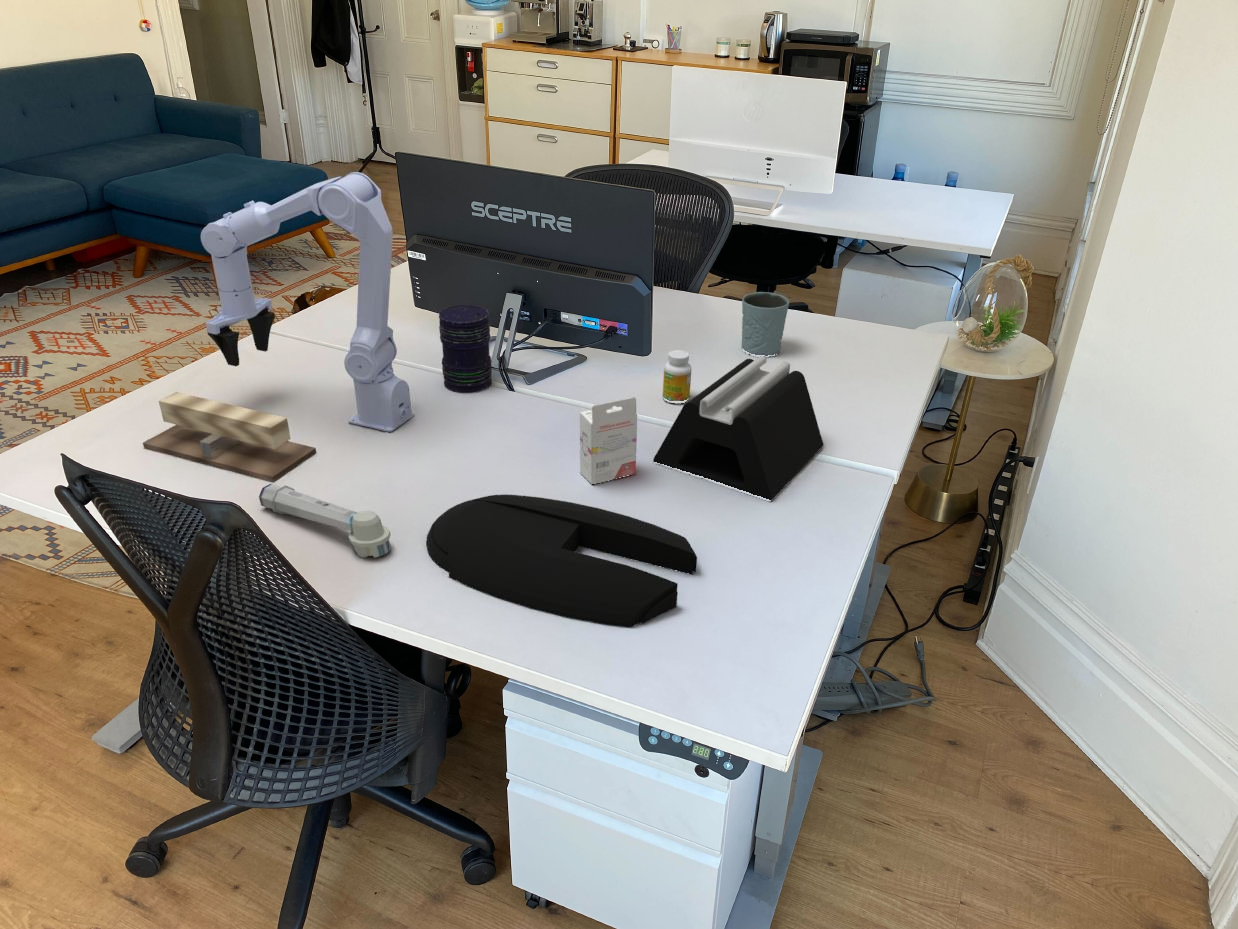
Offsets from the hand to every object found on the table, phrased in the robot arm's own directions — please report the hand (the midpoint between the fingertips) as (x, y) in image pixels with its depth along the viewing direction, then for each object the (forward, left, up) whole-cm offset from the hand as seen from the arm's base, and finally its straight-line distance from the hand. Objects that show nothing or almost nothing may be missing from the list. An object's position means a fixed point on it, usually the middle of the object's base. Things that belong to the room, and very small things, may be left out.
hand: (248, 357), depth 171 cm
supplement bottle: (-72, -37, -10) cm, 82 cm away
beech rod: (-8, +16, -6) cm, 19 cm away
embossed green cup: (-81, -69, -10) cm, 107 cm away
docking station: (-73, +21, -11) cm, 77 cm away
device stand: (-90, -20, -10) cm, 93 cm away
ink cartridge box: (-71, -4, -10) cm, 72 cm away
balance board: (-8, +16, -10) cm, 20 cm away
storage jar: (-31, -26, -10) cm, 42 cm away
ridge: (-8, +16, -10) cm, 20 cm away
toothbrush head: (-38, +29, -10) cm, 49 cm away
